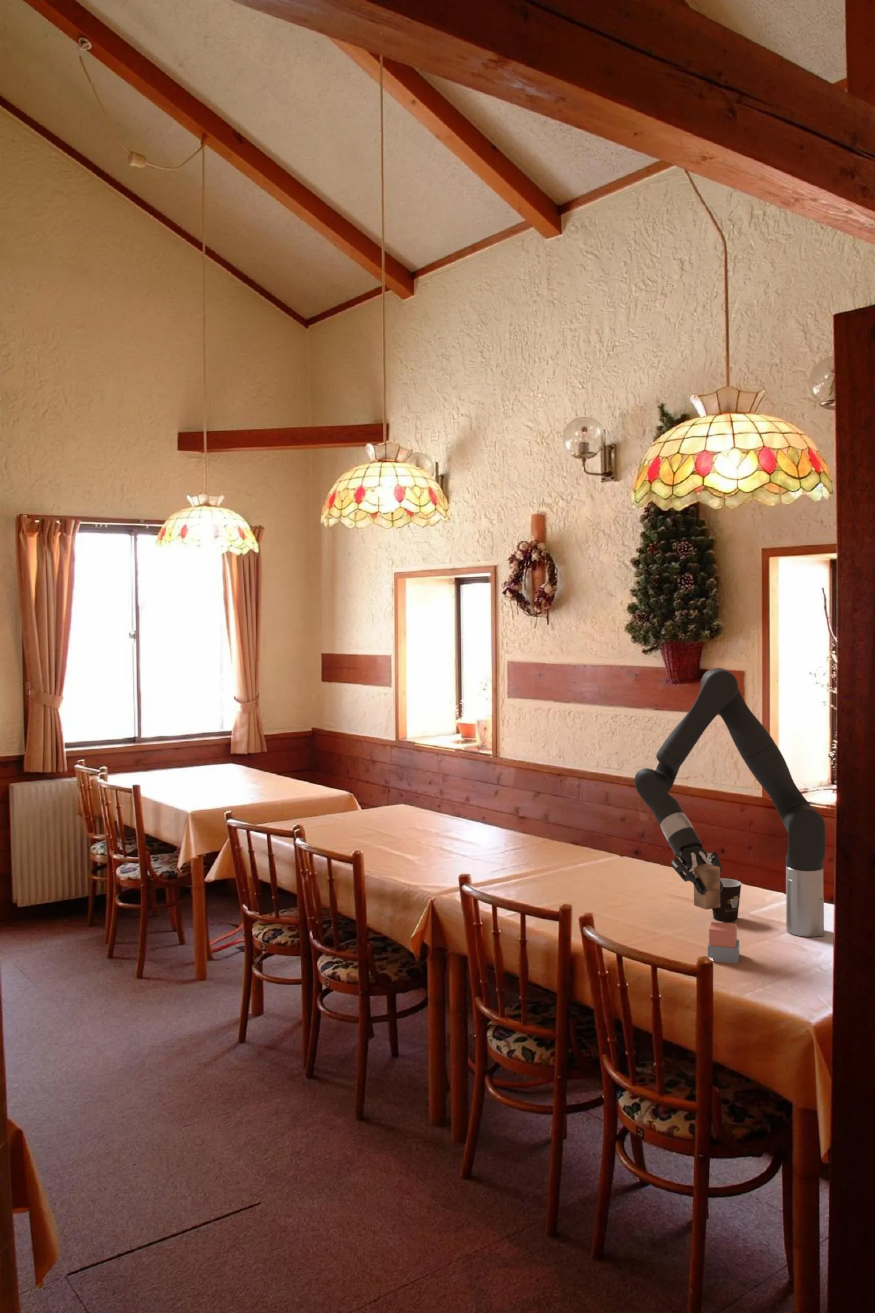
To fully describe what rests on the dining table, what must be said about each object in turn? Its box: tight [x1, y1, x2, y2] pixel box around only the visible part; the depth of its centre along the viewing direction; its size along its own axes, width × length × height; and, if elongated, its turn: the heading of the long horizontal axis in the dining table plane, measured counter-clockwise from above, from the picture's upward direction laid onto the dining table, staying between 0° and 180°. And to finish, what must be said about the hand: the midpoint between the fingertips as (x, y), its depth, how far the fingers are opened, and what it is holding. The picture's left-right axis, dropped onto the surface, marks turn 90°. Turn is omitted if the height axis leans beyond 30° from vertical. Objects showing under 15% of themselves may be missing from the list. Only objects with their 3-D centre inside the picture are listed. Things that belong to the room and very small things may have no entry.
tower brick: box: [708, 921, 738, 948], centre depth 248 cm, size 6×6×4 cm
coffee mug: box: [711, 878, 742, 923], centre depth 279 cm, size 12×9×10 cm
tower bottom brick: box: [707, 938, 740, 964], centre depth 248 cm, size 7×7×4 cm
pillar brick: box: [693, 864, 721, 911], centre depth 253 cm, size 4×4×10 cm
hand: (712, 891), depth 251 cm, fingers closed on pillar brick, 4 cm apart
